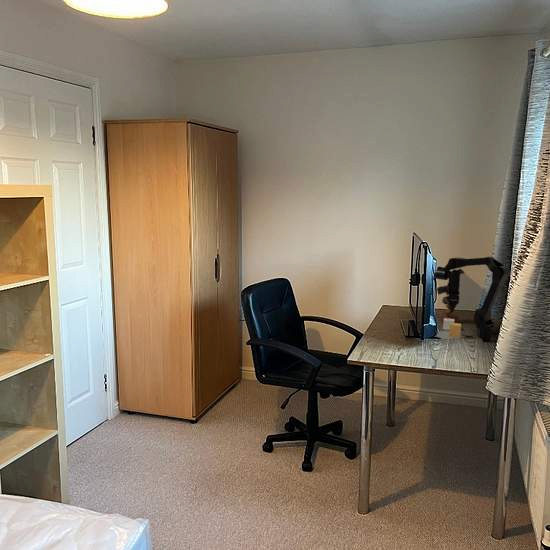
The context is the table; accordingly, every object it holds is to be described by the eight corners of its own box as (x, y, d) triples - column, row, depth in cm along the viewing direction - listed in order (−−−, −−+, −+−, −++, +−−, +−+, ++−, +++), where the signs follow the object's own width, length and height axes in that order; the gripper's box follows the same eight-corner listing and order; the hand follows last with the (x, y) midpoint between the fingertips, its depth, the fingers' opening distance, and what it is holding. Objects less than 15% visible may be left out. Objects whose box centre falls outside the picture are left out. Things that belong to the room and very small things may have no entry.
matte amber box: (460, 335, 288) (461, 323, 287) (460, 337, 283) (461, 326, 282) (449, 334, 290) (450, 322, 289) (449, 336, 284) (449, 324, 284)
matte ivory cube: (453, 329, 304) (454, 319, 303) (453, 332, 299) (454, 321, 298) (443, 328, 306) (444, 318, 305) (442, 331, 301) (443, 320, 300)
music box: (458, 325, 316) (457, 290, 313) (438, 324, 320) (437, 289, 318) (460, 319, 330) (460, 286, 327) (441, 319, 334) (440, 286, 332)
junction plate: (466, 339, 284) (466, 330, 284) (444, 341, 279) (444, 332, 278) (447, 332, 297) (448, 324, 296) (426, 334, 291) (426, 326, 291)
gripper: (438, 277, 305) (437, 306, 307) (437, 282, 288) (435, 312, 290) (460, 279, 302) (458, 307, 304) (460, 284, 284) (458, 314, 286)
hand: (452, 310), depth 296 cm, fingers open, 9 cm apart
